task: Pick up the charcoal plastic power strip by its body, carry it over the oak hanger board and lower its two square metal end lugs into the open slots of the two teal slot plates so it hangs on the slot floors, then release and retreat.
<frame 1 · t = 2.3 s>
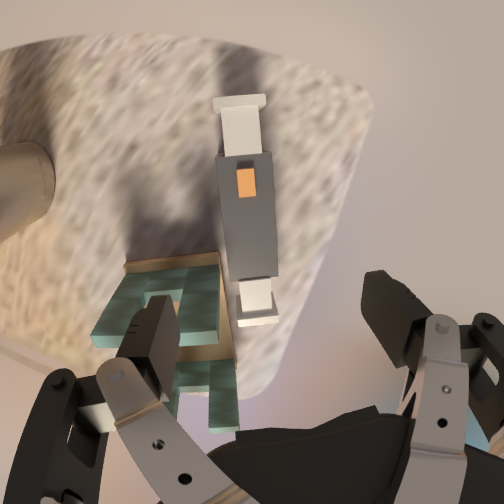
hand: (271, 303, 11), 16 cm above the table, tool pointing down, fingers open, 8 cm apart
power strip: (244, 203, 26), on the table
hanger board: (185, 320, 30), on the table
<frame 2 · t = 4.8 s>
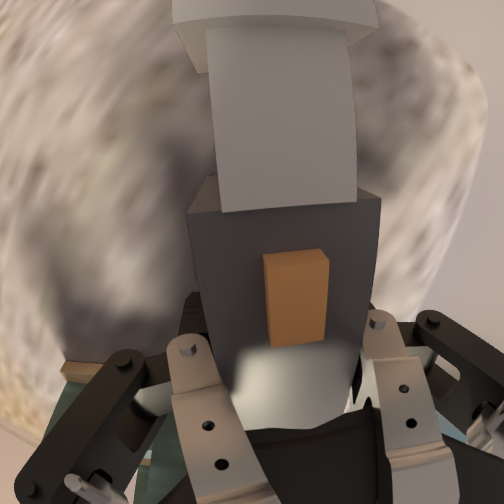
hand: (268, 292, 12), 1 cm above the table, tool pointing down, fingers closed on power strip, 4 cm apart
power strip: (267, 284, 12), on the table, touching gripper
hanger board: (168, 432, 17), on the table
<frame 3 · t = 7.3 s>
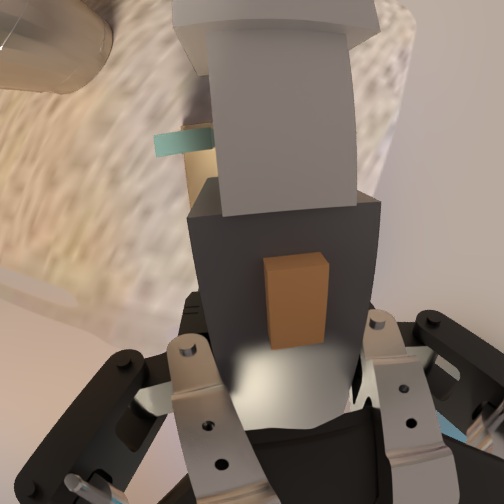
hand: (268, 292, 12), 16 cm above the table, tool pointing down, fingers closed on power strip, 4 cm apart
power strip: (267, 286, 12), point 15 cm above the table, touching gripper
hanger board: (244, 204, 26), on the table
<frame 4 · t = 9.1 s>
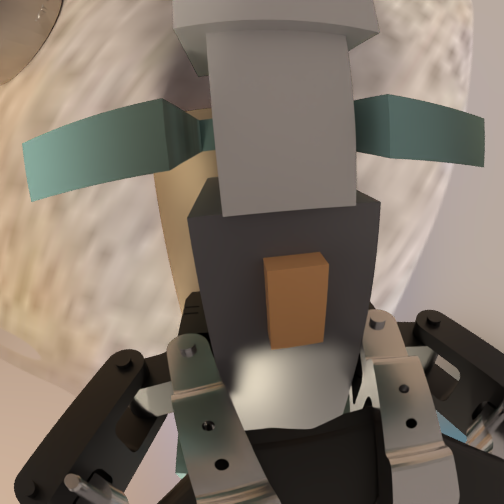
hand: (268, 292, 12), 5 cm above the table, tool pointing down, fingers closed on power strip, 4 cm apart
power strip: (267, 286, 12), point 5 cm above the table, touching gripper
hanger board: (253, 243, 17), on the table
when the fingers open (4 cm above the table, at t = 10.3 s): power strip stays where it is, resting on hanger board.
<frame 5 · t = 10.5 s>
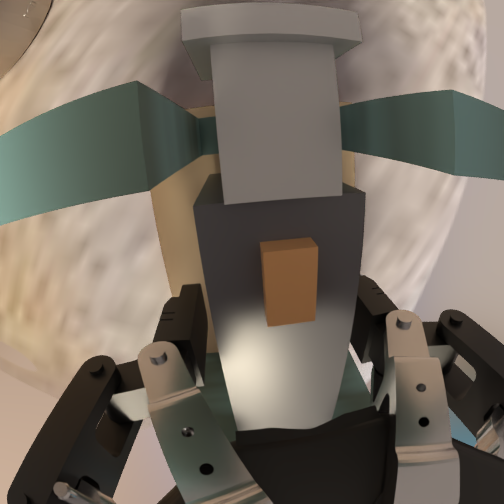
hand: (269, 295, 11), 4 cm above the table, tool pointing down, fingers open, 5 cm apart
power strip: (265, 277, 13), point 2 cm above the table, touching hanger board
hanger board: (259, 255, 15), on the table
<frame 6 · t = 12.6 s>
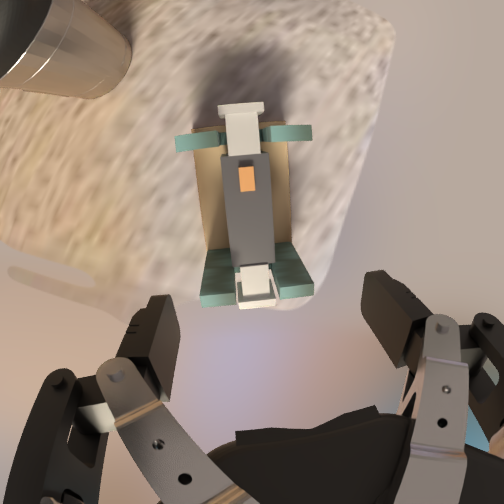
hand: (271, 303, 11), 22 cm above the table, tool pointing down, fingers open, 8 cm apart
power strip: (245, 199, 29), point 2 cm above the table, touching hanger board
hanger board: (244, 194, 31), on the table
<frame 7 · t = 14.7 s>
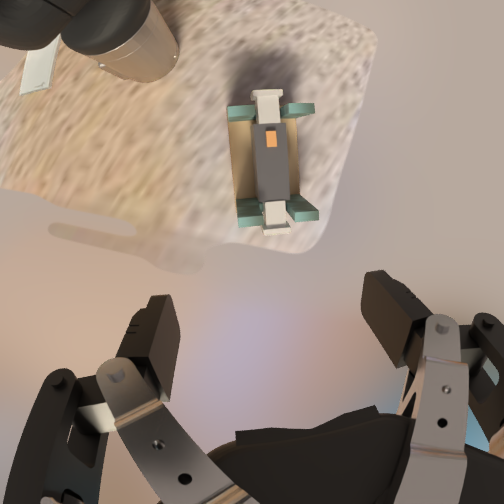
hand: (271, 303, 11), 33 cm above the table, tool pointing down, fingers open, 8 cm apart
power strip: (266, 159, 38), point 2 cm above the table, touching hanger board
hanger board: (264, 157, 40), on the table
hard drive: (43, 62, 29), on the table
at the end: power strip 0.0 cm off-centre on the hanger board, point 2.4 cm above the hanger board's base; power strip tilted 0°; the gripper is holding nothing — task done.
